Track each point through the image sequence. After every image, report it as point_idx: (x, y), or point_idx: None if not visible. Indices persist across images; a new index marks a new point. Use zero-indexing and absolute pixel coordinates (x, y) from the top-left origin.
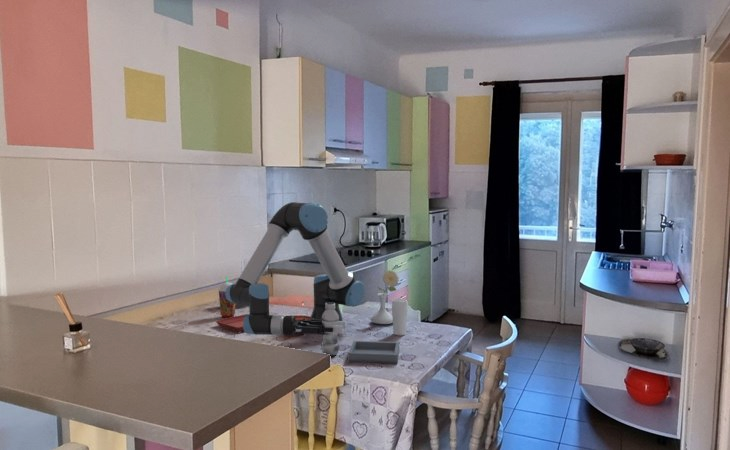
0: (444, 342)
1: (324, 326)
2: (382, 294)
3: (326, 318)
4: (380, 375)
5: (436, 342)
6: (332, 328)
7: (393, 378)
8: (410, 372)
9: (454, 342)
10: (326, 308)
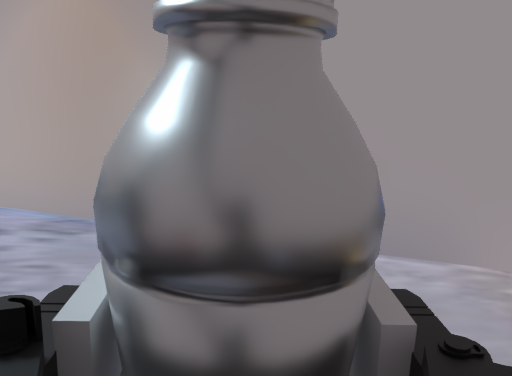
0: (57, 225)
1: (344, 367)
2: None
3: (382, 200)
4: (500, 326)
5: (49, 234)
6: (406, 293)
7: (497, 299)
8: (400, 272)
9: (66, 216)
10: (330, 18)
